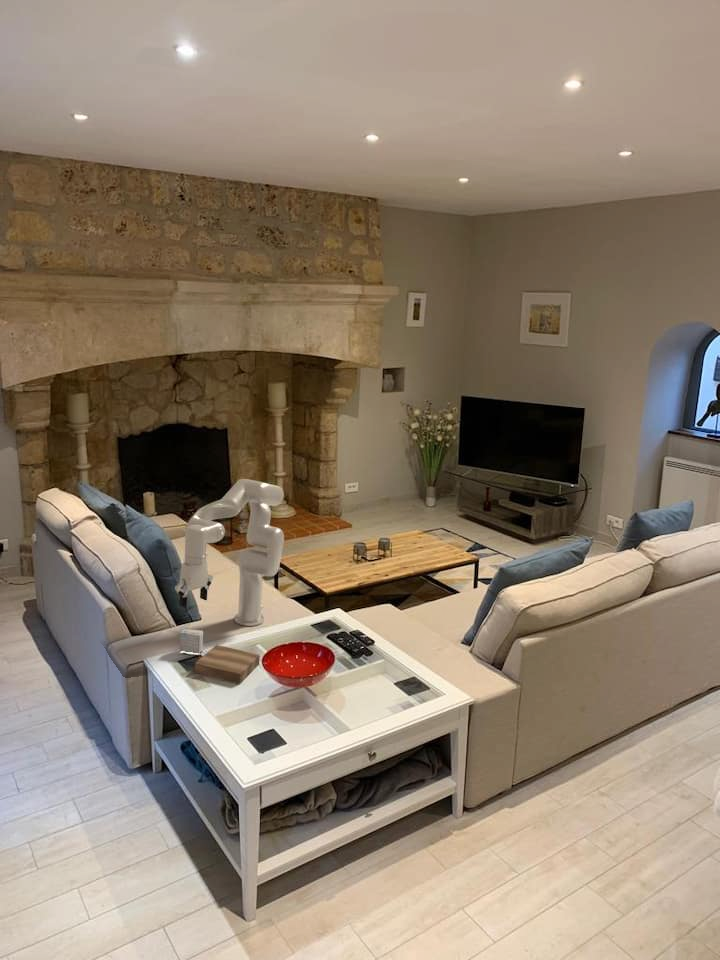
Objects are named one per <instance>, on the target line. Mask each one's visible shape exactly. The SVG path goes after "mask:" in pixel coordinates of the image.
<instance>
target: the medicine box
mask: <svg viewBox="0 0 720 960" xmlns="http://www.w3.org/2000/svg"><path fill="white" fill-rule="evenodd" d="M202 648H204V631H203V630H198V629H188V628H183V629H182V630H181V632H179V652H181V651H185V652H193V653H200V652H201V650H202Z"/></svg>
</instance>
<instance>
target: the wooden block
mask: <svg viewBox="0 0 720 960" xmlns="http://www.w3.org/2000/svg"><path fill="white" fill-rule="evenodd" d="M259 665H260V654H258V653H255V652H254V653H253V652H250V651H246V650H241V649H237V648H232V647H228V646H224V645H220V644H215V645H214V646H213V647H211V648H210V649H209V651H207V652H205V654H204V655H203V656H201V657H200V658H199V659H198V660H196V662H195V663H194V674H196V675H200V676H205V677H209V678H214V679H218V680H221V681H225V682H228V683H229V682H230V683H233V684H237V685H241V684H242V683H243V682H244V681H245V680H246V679H247V678H248V677H249V676H250V675H251V673H252V672H254V671H255V669H256V668H257V667H258V666H259Z"/></svg>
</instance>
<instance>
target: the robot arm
mask: <svg viewBox="0 0 720 960" xmlns="http://www.w3.org/2000/svg"><path fill="white" fill-rule="evenodd" d="M284 495H285V493H284V490H283V488H282V487H281V486H279V485H275V484H271V483H267V482H262V481H259V480H254V479H248V478H241V479H238V480H237V482H235V483H234V484H233V486H232V487H231V488H230V489H229V490H228V491H227V492H226V494H225V495H224V496H223V497H222V498H221V499H219V500H216V501H213V502H210V503H208V504H206V505H204V506H202V507H200V508H199V509H197V510H196V512H195V513H193V514H192V515H191V517H190V519H189V521H188V522H187V524H186V529H185V531H184V532H185V534H184V538H185V540H184V541H185V542H184V562H183V563H182V565H181V568H180V573H179V582H178V583H177V584H176V585H175V586H174V590H175V593H176V594H177V595H178V596H179V606H181V607H182V608H187V607H188V597H187V595H188V594H189V592H192V591H195V590H198V589H200V590H199V598H200V600H201V599H202V600H204V601H207V600H208V590H209V589H210V586H211V584H212V581H213V578H214V576H213V575H211V574H209V571H208V562H207V560H206V558H207V556H208V553H207V545H208V544H213V543H217V542H220V541H221V540H223V538H224V537H225V534H226V529H225V526H224V525H223V524H222V523H220V522H218V521H214V520H218V519H219V520H220V519H226V518H232V517H235V516H238V514H239V513H240V512H241V511H242V510H243V508H244V507H245V506H246V505H247V503H248V504H249V508H250V515H249V521H248V527H247V531H246V536H245V537H246V542H247V544H249V545H250V546H251V545H252V546H254V547H258V548H261V549H266V550H267V551H263V550H260V549H255V548H248V547H247V548H244V549H242V550H241V551H240V552H239V555H238V557H237V558H238V559H237V563H238V570H239V585H238V586H239V587H238V609H237V610H238V611H237V613H236V614H235V615H234V618H233V620H234V622H235V623H236V624H237V625H241V626H247V627H253V626H259V625H261V624H262V623H264V622H265V616H264V615H263V613H262V609H263V608H264V604H262V597H263V596H262V595H263V578H262V576H264V577H273V576H275V575H277V573H278V572H279V568H280V565H281V560H282V554H283V550H284V544H285V535H284V532H283V530H282V529H281V528H280V527H276V526H272V525H270V524H271V517H272V510H271V507H277V506H279V505H281V503H282V502H283V500H284ZM270 506H271V507H270Z"/></svg>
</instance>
